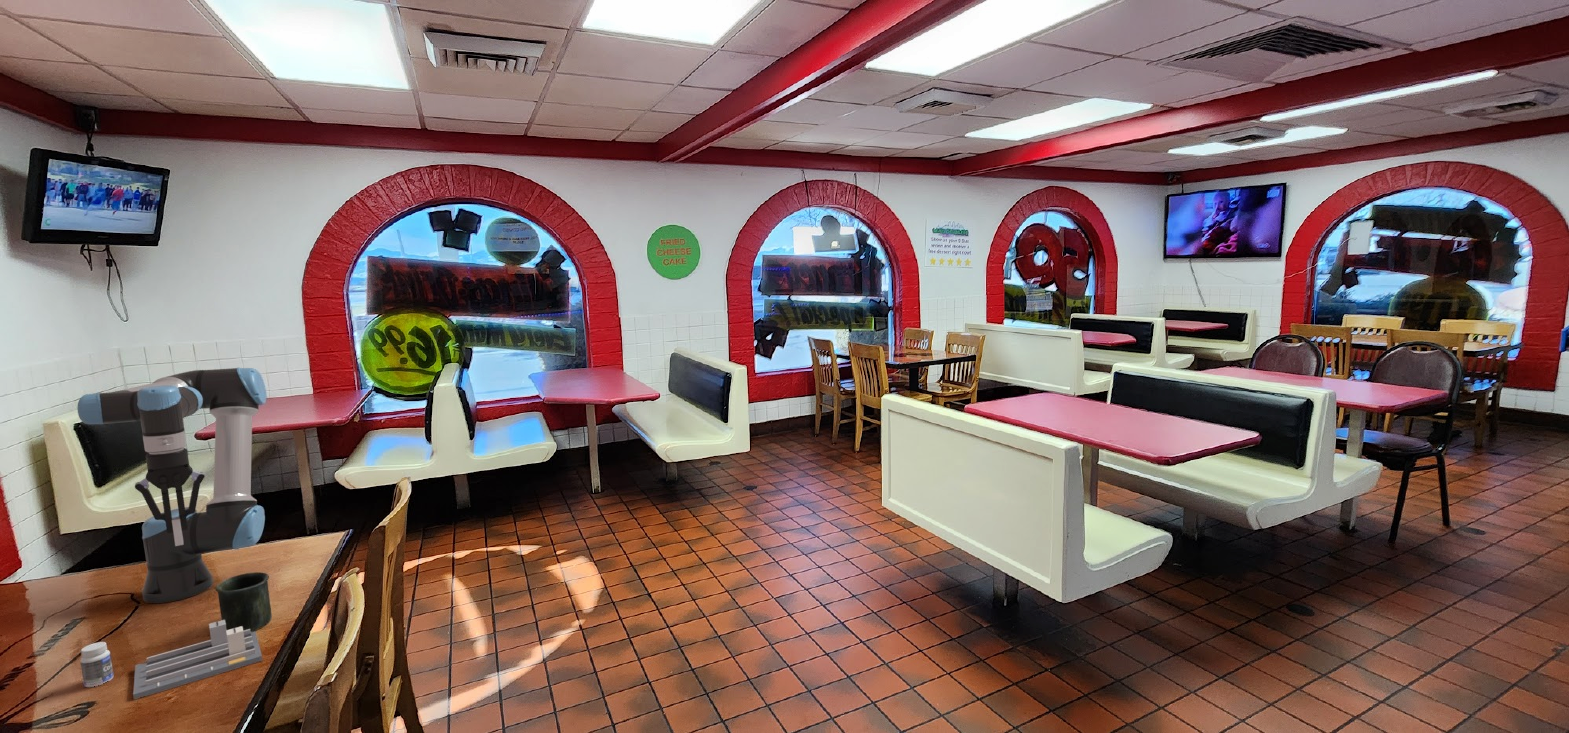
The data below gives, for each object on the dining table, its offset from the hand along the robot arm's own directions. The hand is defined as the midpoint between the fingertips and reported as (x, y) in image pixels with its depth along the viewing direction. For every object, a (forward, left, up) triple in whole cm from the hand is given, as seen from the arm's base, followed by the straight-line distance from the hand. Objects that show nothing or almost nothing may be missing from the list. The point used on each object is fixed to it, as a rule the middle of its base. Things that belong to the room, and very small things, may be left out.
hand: (179, 543), depth 169 cm
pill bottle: (+11, -16, -25) cm, 31 cm away
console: (+18, +1, -24) cm, 30 cm away
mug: (+1, +11, -25) cm, 27 cm away
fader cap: (+21, +8, -23) cm, 32 cm away
